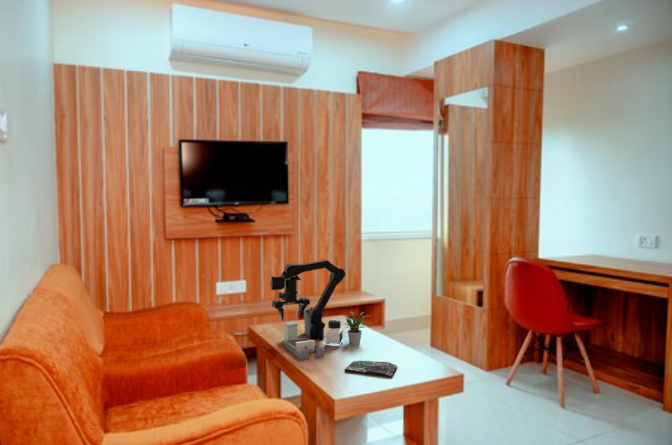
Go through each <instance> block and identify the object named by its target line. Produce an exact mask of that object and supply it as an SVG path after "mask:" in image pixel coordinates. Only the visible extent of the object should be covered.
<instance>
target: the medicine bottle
mask: <svg viewBox="0 0 672 445" xmlns="http://www.w3.org/2000/svg"><path fill="white" fill-rule="evenodd" d="M327 325H328V326H327V327H328V329H327V330H326V332H325V345H326V344H330V343H337V344H340V342H341V340H342V339H343V333H344V332H343V328H341V320H338V319H330V320H329V321H328V323H327Z"/></svg>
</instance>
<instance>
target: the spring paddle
mask: <svg viewBox="0 0 672 445" xmlns="http://www.w3.org/2000/svg"><path fill="white" fill-rule="evenodd" d="M315 343H316V340H308V341H301V342H296V346H295V347H296V348H297V349H298V350H300V351H301V352H302V350H307V349H308V350H309V354H311V353H313V352H316V351H315Z"/></svg>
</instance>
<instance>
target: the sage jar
mask: <svg viewBox="0 0 672 445" xmlns="http://www.w3.org/2000/svg"><path fill="white" fill-rule="evenodd" d="M283 325H284V328H283V329H284V331H283V332H284V339H283V340H284V341H285V340H291V339H298V327H299V325H298V323H297V322H296V321H287V322H283Z"/></svg>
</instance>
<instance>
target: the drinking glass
mask: <svg viewBox="0 0 672 445" xmlns="http://www.w3.org/2000/svg"><path fill="white" fill-rule="evenodd" d="M309 310H310V308H309V309H305V310H304V311H303V316H304V317H303V318H304V319H303V320H304V334H305V335H307V336H310V329H311V327H312V325H311V323H310V322H309V321H308V320H307V315H308V314H307V313H308V312H309ZM321 321H322V322H323V318H322V319H321Z"/></svg>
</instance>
